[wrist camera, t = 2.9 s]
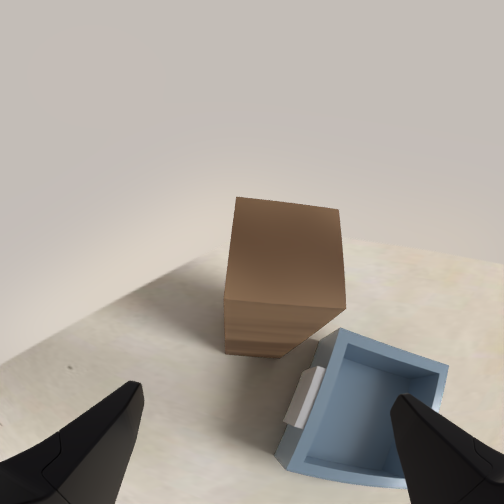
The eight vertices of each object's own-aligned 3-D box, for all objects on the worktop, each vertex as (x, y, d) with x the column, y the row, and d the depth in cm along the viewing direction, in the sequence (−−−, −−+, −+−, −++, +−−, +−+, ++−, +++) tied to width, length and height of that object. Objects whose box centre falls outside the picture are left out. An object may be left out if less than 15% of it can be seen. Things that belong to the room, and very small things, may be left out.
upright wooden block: (279, 358, 21) (345, 308, 9) (225, 354, 21) (223, 299, 9) (281, 307, 23) (338, 209, 11) (230, 303, 22) (236, 196, 11)
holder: (382, 478, 16) (411, 489, 12) (266, 453, 17) (276, 467, 13) (416, 373, 20) (448, 365, 16) (312, 338, 22) (331, 324, 18)
